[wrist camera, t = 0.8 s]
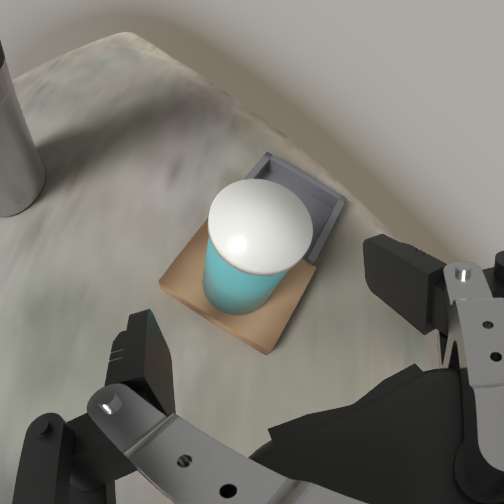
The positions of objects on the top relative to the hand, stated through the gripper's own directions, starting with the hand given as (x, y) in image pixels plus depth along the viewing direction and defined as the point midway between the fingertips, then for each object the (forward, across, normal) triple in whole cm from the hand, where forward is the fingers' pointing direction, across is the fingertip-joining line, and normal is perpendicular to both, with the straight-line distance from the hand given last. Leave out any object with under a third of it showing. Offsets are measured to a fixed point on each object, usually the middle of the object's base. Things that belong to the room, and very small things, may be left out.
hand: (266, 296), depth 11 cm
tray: (+25, -8, +5) cm, 27 cm away
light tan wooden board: (+20, -1, +9) cm, 21 cm away
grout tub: (+18, 0, +8) cm, 19 cm away
